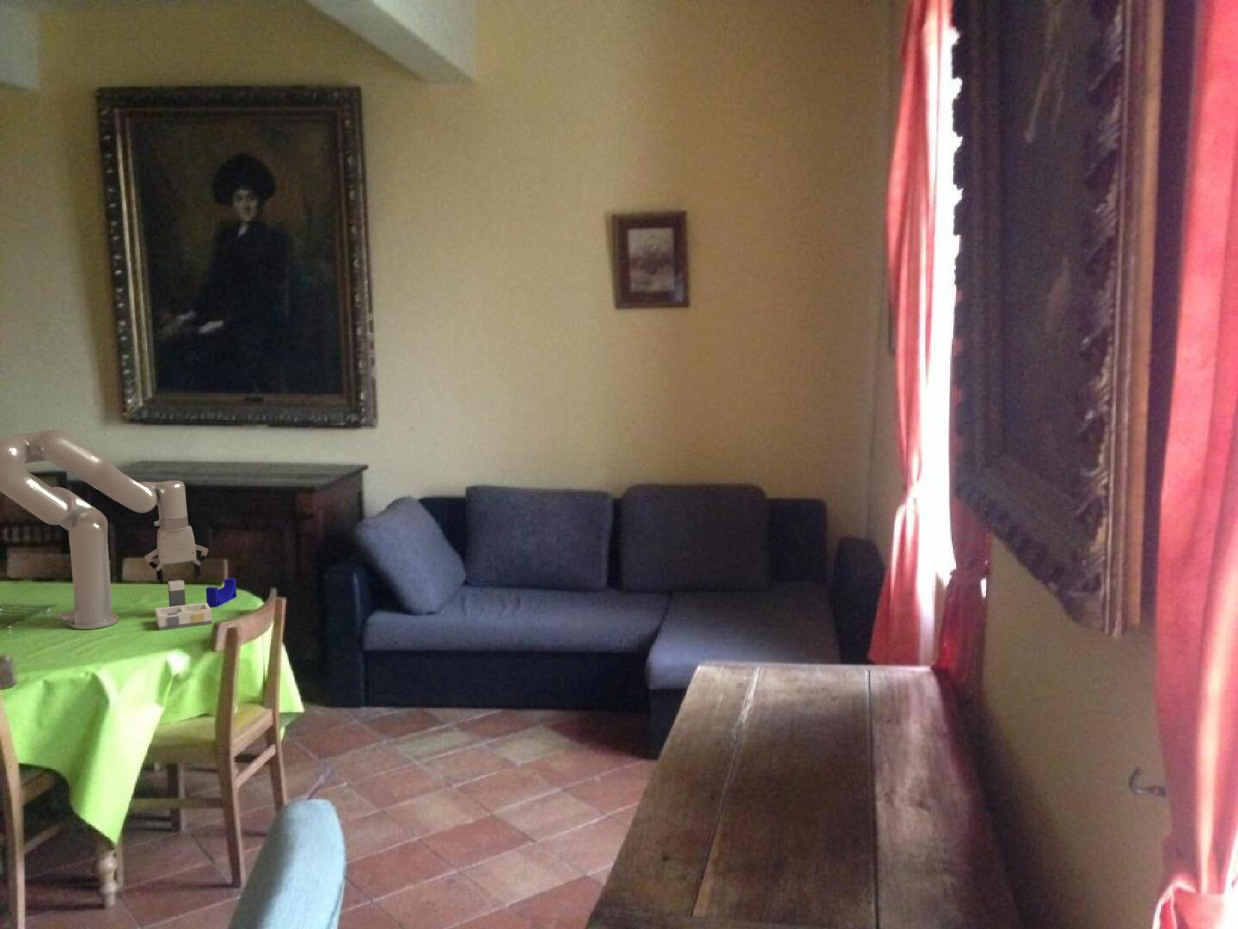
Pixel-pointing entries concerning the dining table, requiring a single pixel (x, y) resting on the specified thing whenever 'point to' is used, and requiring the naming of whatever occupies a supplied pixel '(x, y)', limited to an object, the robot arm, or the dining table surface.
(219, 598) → the blue notched block
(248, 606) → the dining table surface
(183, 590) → the plug
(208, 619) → the socket strip
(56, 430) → the robot arm
